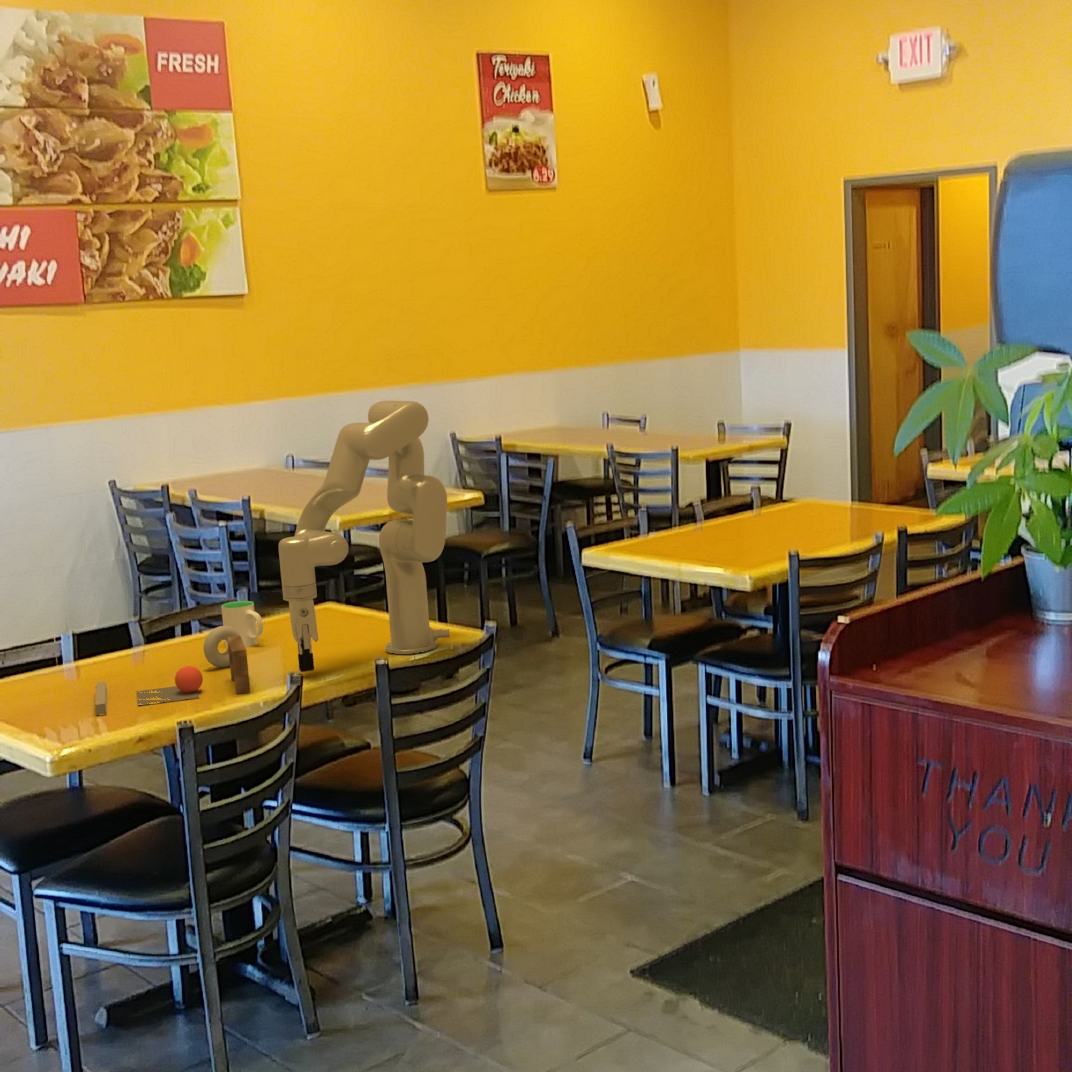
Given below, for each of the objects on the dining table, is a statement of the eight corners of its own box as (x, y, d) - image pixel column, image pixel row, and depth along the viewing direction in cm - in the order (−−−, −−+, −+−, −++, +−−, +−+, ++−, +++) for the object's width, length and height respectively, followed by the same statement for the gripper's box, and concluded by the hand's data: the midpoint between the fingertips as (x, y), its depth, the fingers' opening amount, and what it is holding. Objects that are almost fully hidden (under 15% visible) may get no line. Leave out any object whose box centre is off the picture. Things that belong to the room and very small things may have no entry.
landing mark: (195, 684, 321) (195, 683, 321) (199, 698, 308) (199, 697, 308) (136, 692, 317) (136, 691, 317) (137, 706, 305) (137, 705, 305)
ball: (172, 666, 315) (176, 692, 316) (173, 672, 309) (178, 698, 310) (199, 661, 316) (203, 686, 318) (201, 666, 311) (205, 693, 312)
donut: (210, 672, 331) (205, 631, 330) (202, 670, 334) (198, 629, 332) (247, 663, 338) (243, 622, 336) (239, 661, 340) (235, 621, 339)
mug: (275, 643, 358) (271, 602, 356) (253, 650, 351) (249, 609, 349) (241, 639, 364) (237, 600, 362) (218, 646, 357) (214, 606, 356)
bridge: (244, 676, 325) (240, 635, 323) (250, 692, 310) (246, 649, 309) (231, 678, 324) (227, 637, 322) (236, 694, 310) (232, 651, 308)
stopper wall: (107, 692, 319) (105, 681, 318) (106, 714, 300) (105, 703, 300) (97, 693, 318) (96, 682, 318) (96, 716, 299) (95, 704, 299)
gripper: (320, 595, 312) (328, 675, 315) (311, 584, 326) (318, 661, 329) (286, 599, 310) (294, 680, 313) (279, 587, 324) (286, 665, 327)
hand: (306, 670), depth 321 cm, fingers closed
